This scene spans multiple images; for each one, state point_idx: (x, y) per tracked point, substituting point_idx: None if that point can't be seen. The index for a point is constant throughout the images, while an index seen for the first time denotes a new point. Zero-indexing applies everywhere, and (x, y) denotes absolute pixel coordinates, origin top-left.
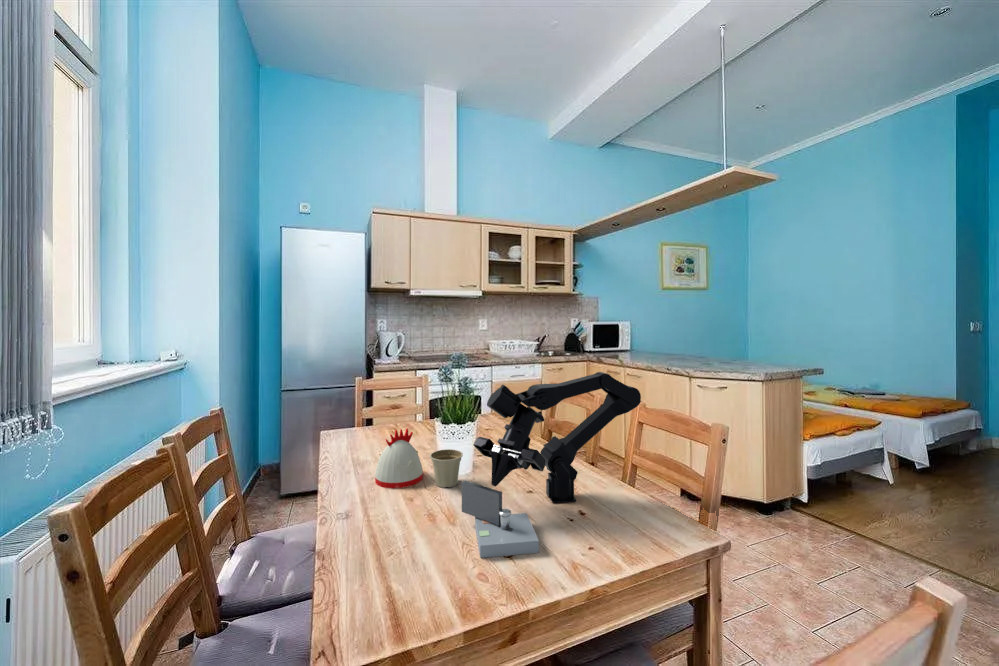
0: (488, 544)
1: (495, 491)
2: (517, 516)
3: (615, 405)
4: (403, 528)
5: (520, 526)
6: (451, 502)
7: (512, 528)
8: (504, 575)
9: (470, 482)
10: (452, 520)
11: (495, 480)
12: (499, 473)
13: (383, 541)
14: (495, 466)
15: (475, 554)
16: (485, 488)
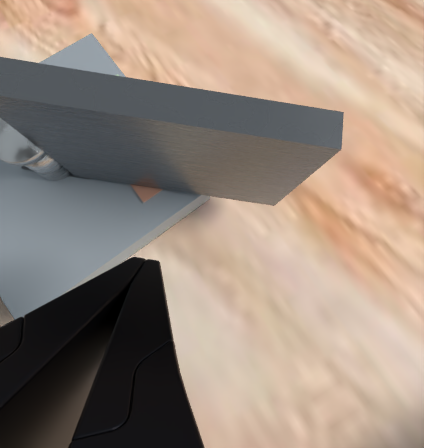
0: (69, 49)
1: (17, 75)
2: (46, 274)
3: None
4: (404, 95)
5: (3, 203)
6: (404, 325)
7: (25, 167)
8: (8, 28)
9: (279, 134)
10: (307, 205)
11: (115, 267)
12: (53, 300)
13: (395, 22)
14: (108, 356)
15: (127, 73)
16: (114, 88)
